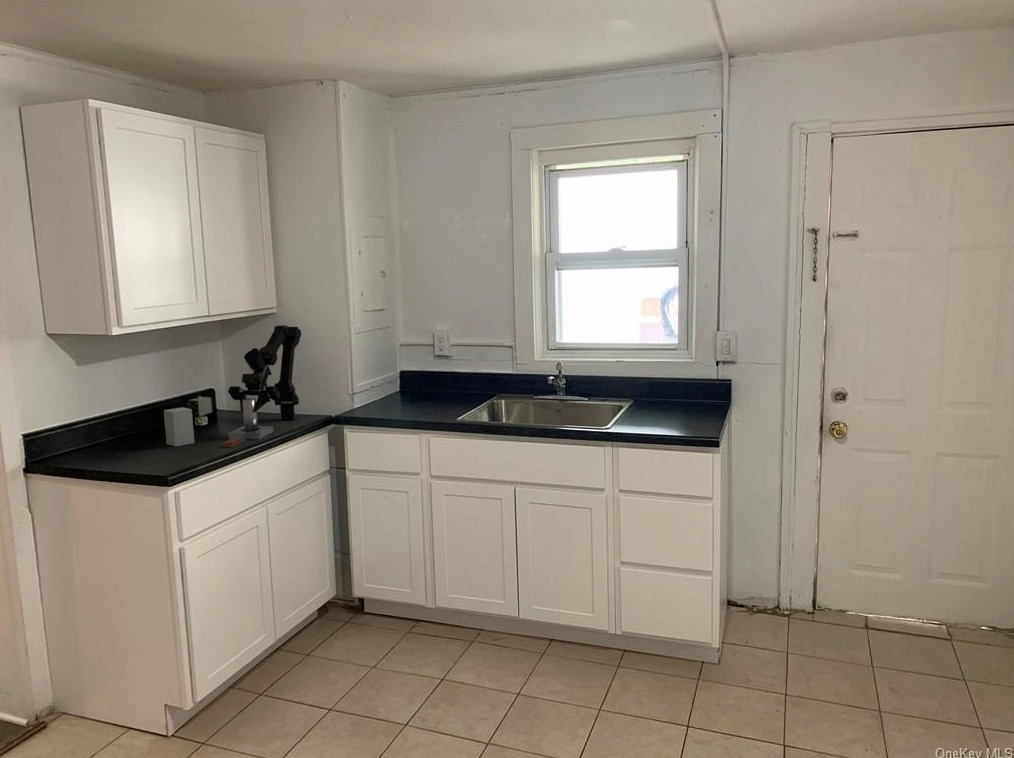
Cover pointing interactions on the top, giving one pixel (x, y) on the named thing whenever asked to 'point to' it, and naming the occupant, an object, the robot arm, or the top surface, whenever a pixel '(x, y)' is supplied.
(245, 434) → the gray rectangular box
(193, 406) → the pneumatic valve
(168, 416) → the supplement box
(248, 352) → the robot arm
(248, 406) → the shiny metal cylinder
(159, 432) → the top surface
